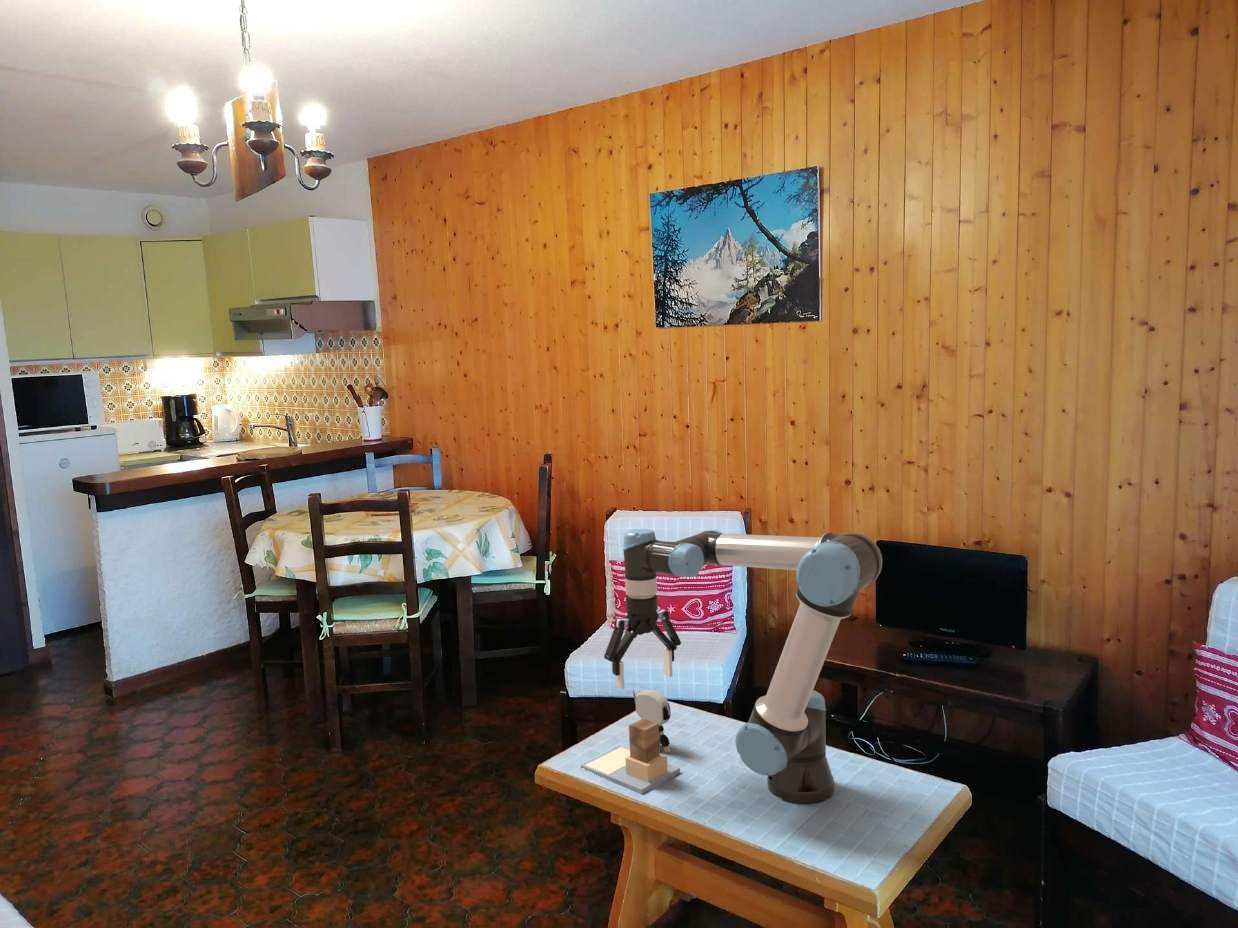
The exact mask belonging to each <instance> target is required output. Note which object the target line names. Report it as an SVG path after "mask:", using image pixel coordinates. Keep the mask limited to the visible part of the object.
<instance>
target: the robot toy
mask: <svg viewBox="0 0 1238 928" xmlns="http://www.w3.org/2000/svg"><path fill="white" fill-rule="evenodd" d="M631 691H632V693H633V698H634V704H635V707H634V708H635V711H636V714H637V716H638V717H639V718H640V720H641V719H646V720H649V721H652V722H655V723H658V724H659V746H660V745H661V747H662V748H663V750H664V751H665V753H670V752H671V747H670V745H671V743H670V740H669V737H668V736H667V735H666V734H665V733H664V732H665V731H664V730H665V728H664V726H663V725H664V724H666V723H668V722H669V720H670V718H671V715H672V713H671V706H670V703H669V701H668V699H667V698H666V696H664V695H662V694H661V693H659V692H658V691H656V690H651V689H645V690H643V691H640V692H639V693H637V694H636V693H635V690H634V689H632V690H631Z"/></svg>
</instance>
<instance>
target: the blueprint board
mask: <svg viewBox="0 0 1238 928" xmlns="http://www.w3.org/2000/svg"><path fill="white" fill-rule="evenodd" d="M581 768H584V769H585V770H588V771H590V772H592V773H594V774H593V775H595V774H596V775H595V776H597V775H598V776H597V777H599V776H600V778H602V777H603V778H602V779H604V778H605V780H606V779H607V780H606V781H609V782H611V783H614V784H616V785H619V786H621V787H623V788H626V789H628V790H630V791H631V792H632V791H633V792H635V793H637V794H639V795H643V794H645V793H646V792H648V791H651V790H652V789H654V788H656V787H658V786H659V785H661V784H662V783H664V782H666V781H668V780H669V779H670V780H671V778H673V777H675V776H677V775H679V774H681V768H680V766H676V765H674V764H671V763H668V755H666V754H663V753H660V756H658V757H657V758H655V759H653V760H651V761H649V762H647V763H644V762H641V761H639V760H636V759H633V758H631V757H630V748H627V747H624V746H621V745H618V746H617V747H614V748H613V749H611V750H610V749H609V750H608V751H606V752H604V753H602V754H600V755H598V756H596V757H594V758H592V759H590V760H587V761H586V762H584V763H581V764H580V769H581ZM585 770H584V771H585ZM590 772H589V773H590ZM592 773H591V774H592Z"/></svg>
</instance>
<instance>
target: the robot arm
mask: <svg viewBox="0 0 1238 928" xmlns="http://www.w3.org/2000/svg"><path fill="white" fill-rule="evenodd" d="M622 551H623V561H624V562H623V563H624V586H625V587H624V588H625V594H626V596H625V612H626V618H618V617H617V618H615V619H614V628H613V631H612V634H611V636H610V639H609V641H608V645H607V648H606V650H605V652H604V657H603V658H604V659H605V660H606V661H609V662H611V664H612V665H611V667H612V668H611V670H612V674H613V675H614V676H615V687H616V688H618V689H620V690H625V667H624V665H625V664H624V661H622V659H623V657H624V656H625V653H626V652H627V651H628V650H629V649H628V648H629V647H630V646H631V644H632V642H633V641H634V640H635V639H636V638H637V636H641V635H643V634H650V633H651V632H652V633H653V634H654V635H655V637H656V638H658V640H659V641H660V642H661V643H662V644H663V645H664V646H665V647H663V648H662V661H663V662H662V663H663V666H662V667H663V675H664V676H667V677H669V678H672V677H673V662H674V661H675V651H676V650H677V648H678V647H677V646H681V644H682V641H681V639H680V638H679V635H678V633H677V631H676V629H675V628H674V625H673V624H672V621H671V620H670V612H669V611H668V610H666V609H663V608H659V607H658V595H657V593H658V582H657V574H661V575H662V574H663V575H670V576H675V577H680V578H694V577H696V576H697V575H699V573H700V572H701V571H702V569H703V566H706V565H707V566H708V565H713V566H727V567H730V566H731V567H744V568H745V567H747V568H756V569H758V568H759V569H772V570H787V571H796V575H795V576H796V578H795V579H796V583H797V584H798V587H797V589H796V593H795V596H796V598H797V600H798V601H799V604H798V605H799V606H798V609H797V612H796V614H795V617H794V619H793V622H792V625H791V627H790V630H789V633H788V636H787V638H786V640H785V643H784V646H783V649H782V652H781V654H780V656H779V660H778V662H777V665H776V667H775V670H774V674H773V675H772V678H771V680H770V683H769V687H768V689H767V692H766V695H763V696H760V697H759V698H757V699H756V701H755V702H754V703H755V704H754V707H753V709H752V712H751V715H750V717H749V719H748V721H747V722H746V723H744V724H743V725H742V726H740V728H739V729H738V731H737V732H736V734H735V735H736V736H735V748H736V751H737V753H738V754H739V758H740V760H741V761H742V763H744V765H745V766H746V767H747V768H748V769H750V770H751V771H752V772H754V773H756V774H758V775H761V776H766V777H767V778H766V779H767V780H766V782H767V784H766V785H767V789H768V791H769V792H770V793H771V794H772V795H773V796H776V797H777V798H779V799H781V800H783V801H785V802H790V803H794V804H795V803H796V804H814V803H818V802H823V801H826V800H828V799H830V797H832V796H833V794H834V792H835V779H834V776H833V773H832V771H831V767H830V765H829V762H828V759H827V753H826V752H827V749H826V748H827V744H826V742H827V741H826V738H827V737H826V736H827V734H826V731H827V730H826V729H827V728H826V727H827V726H826V725H827V723H826V719H827V718H826V711H827V708H826V703H825V701H826V700H825V698H824V697H825V696H823V694H821V693H820V692H818V691H816V690H814V688H815V686H816V683H817V682H818V681H817V680H818V679H819V676H820V673H821V671H822V668H823V666H824V663H825V660H826V659H827V655H828V653H829V650H830V647H831V644H832V642H833V640H834V637H835V635H836V632H837V630H838V628H839V624H840V622H841V620H844V619H846V618H849V617H850V616H851V615H852V613H853V610H854V608H855V605H856V603H857V600H858V598H859V595H860V593H861V591H862V590H863V589H865V588H867V587H869V586H870V585H871V584H873V583H874V582H875V581H876V580H877V579H878V577H879V576H880V574H881V572H882V568H883V557H882V556H883V555H882V553H881V550H880V548H879V547H878V545H877V544H876V543H875V542H874V540H872V539H871V538H870V537H869V536H867V535H865V534H861V533H857V532H838V533H836V532H835V533H834V532H825V533H824V534H823V535H821V536H820V537H819V536H798V535H797V536H791V535H769V534H764V535H763V534H745V533H743V534H742V533H723V532H721V531H719V530H717V529H712V530H704V531H702V532H700V533H697V534H694V535H691V536H688V537H685V538H682V539H679V540H676V541H664V540H659V539H657V537H656V533H655V531H654V530H653V529H649V528H633V529H630V530H628V531H627V530H626V532H625V533H624V535H623V549H622ZM658 609H659V611H658ZM658 620H660V622H661V624H662V627H663V628H664V629H665V632H666V634H667V635H666V634H665V633H664V632H663V630H661V628H660V626H659V625H658V624H657V623H658ZM667 636H668V637H667Z"/></svg>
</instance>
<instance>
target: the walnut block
mask: <svg viewBox="0 0 1238 928" xmlns="http://www.w3.org/2000/svg"><path fill="white" fill-rule="evenodd" d="M628 737H629V738H628V739H629V740H628V741H629V749H630V757H631V758H633V759H636V760H639V761H641V762H644V763H647V762H649V761H651V760H653V759H655V758H657V757H658V756H660V754H661V753H660V751H661V750H660V749H661V748H660V745H659V724H658V723H655V722H652V721H649V720H646V719H641V718H640V719H639V720H636V721H635V722H633V723H630V724H629V725H628Z"/></svg>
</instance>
